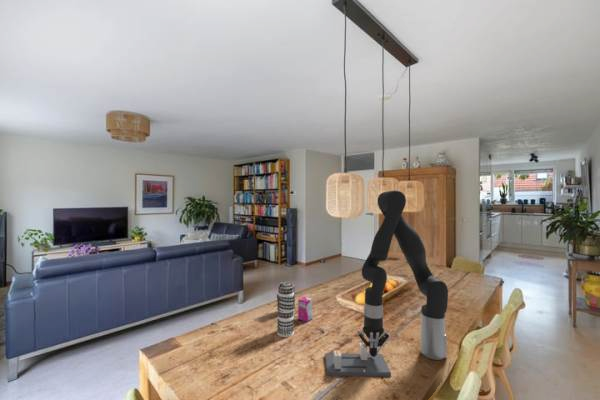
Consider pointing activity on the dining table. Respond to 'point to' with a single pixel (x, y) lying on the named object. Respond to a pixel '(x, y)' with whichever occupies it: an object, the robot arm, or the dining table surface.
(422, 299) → the dining table surface
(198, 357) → the dining table surface
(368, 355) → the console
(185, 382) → the dining table surface
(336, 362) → the grey fader
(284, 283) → the decorative candle
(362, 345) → the white fader
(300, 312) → the supplement box
